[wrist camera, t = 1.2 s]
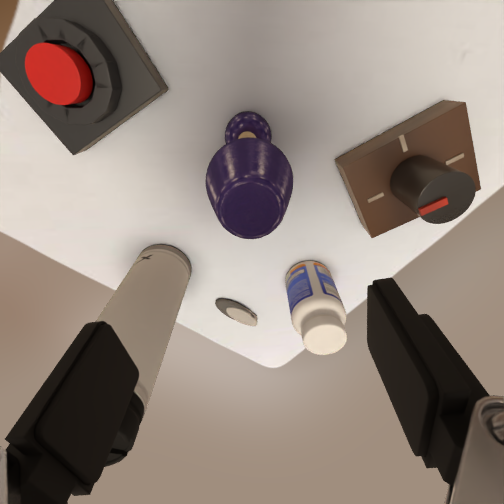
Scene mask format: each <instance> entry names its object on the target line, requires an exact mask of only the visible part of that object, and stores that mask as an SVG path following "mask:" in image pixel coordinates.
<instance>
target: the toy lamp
mask: <svg viewBox="0 0 504 504" xmlns="http://www.w3.org/2000/svg"><path fill="white" fill-rule="evenodd" d="M225 142H226V145H224V146H223V147H221V148H220V149H219V150H218V151H217V152H216V154H215V155H214V156H213V158H212V160H211V162H210V163H209V166H208V169H207V173H206V189H207V194H208V197H209V200H210V202H211V205H212V207H213V209H214V212H215V214H216V216H217V218H218V220H219V221H220V223H221V224H222V226H223V227H224V228H225V229H226V230H227V231H229V232H230V233H231V234H233V235H235V236H237V237H240V238H244V239H257V238H261V237H263V236H266V235H268V234H270V233H271V232H272V231H273V230H275V229H276V228H277V226H278V225H279V224H280V223H281V221H282V219H283V217H284V215H285V212H286V209H287V207H288V204H289V200H290V198H291V194H292V189H293V173H292V169H291V166H290V164H289V162H288V160H287V158H286V156H285V155H284V154H283V152H282V151H281V150H280V149H278V148H277V147H276V146H275V145H273V144H272V143H271V130H270V127H269V125H268V123H267V122H266V120H265V119H264V118H263V117H262V116H260V115H259V114H257V113H254V112H241V113H239V114H237V115H235V116H234V117H233V118H232V119H231V120H230V122H229V123H228V125H227V127H226V131H225Z"/></svg>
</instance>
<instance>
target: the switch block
mask: <svg viewBox="0 0 504 504" xmlns="http://www.w3.org/2000/svg"><path fill="white" fill-rule="evenodd" d="M38 43H51V44H56V45H62V46H66V47H69V48H71V49H73V50H74V51H76V52H77V53H78V54H79V55H80V56H81V57H82V58H83V59H84V60H85V62H86V63H87V65H88V67H89V69H90V71H91V74H92V79H93V88H92V92H91V94H90V96H89V97H88V99H86V100H85V101H84V102H81V103H77V104H69V105H57V104H54V103H51V102H49V101H47V100H46V99H44V98H43V97H42V96H41V95H40V94H38V92H37V91H36V90H35V89H34V88H33V86H32V85H31V83H30V81H29V79H28V76H27V73H26V69H25V58H26V54H27V52H28V50H29V49H30V48H31V47H32V46H33V45H35V44H38ZM0 72H1V73H2V74H3V75H4V76H5V78H6V79H7V80H8V81H9V82H10V83H11V84H12V86H13V87H14V88H15V89H16V90H17V91H18V92H19V94H20V95H21V96H22V97H23V98H24V99H25V101H26V102H27V103H28V104H29V105H30V106H31V107H32V109H33V110H34V111H35V112H36V113H37V114H38V115H39V117H40V118H41V119H42V120H43V121H44V122H45V123H46V125H47V126H48V127H49V128H50V129H51V130H52V132H53V133H54V134H55V135H56V136H57V137H58V138H59V140H60V141H61V142H62V143H63V144H64V145H65V146H66V148H67V149H68V150H69V151H70V152H71V153H72V154H73V155H76V154H78V153H80V152H83V151H85V150H87V149H88V148H90V147H91V146H92V145H94V144H95V143H97V142H98V141H99V140H101V139H102V138H103V137H105V136H106V135H107V134H109V133H110V132H112V131H113V130H114V129H116V128H117V127H118V126H120V125H121V124H122V123H124V122H125V121H127V120H128V119H129V118H131V117H132V116H133V115H135V114H136V113H137V112H139V111H140V110H142V109H143V108H144V107H146V106H147V105H148V104H150V103H151V102H152V101H154V100H155V99H157V98H158V97H159V96H161V95H162V94H163V93H165V92H166V91H167V90H168V87H167V86H166V84H165V83H164V81H163V80H162V78H161V76H160V75H159V73H158V72H157V70H156V69H155V67H154V65H153V64H152V62H151V61H150V59H149V57H148V56H147V54H146V53H145V51H144V50H143V48H142V46H141V45H140V43H139V42H138V40H137V39H136V37H135V35H134V34H133V32H132V31H131V29H130V28H129V26H128V24H127V23H126V21H125V20H124V18H123V16H122V15H121V13H120V12H119V10H118V9H117V7H116V5H115V4H114V2H113V1H112V0H54V1H53V2H52V3H51V4H50V5H49V6H48V7H47V8H46V9H45V10H44V11H43V12H42V13H41V14H40V15H39V16H38V17H37V18H35V19H34V20H33V21H32V22H31V23H30V24H29V25H28V26H27V27H26V28H25V29H24V30H23V31H21V32H20V33H19V35H18V36H17V37H16V38H15V39H14V40H13V41H12V42H11V43H10V44H9V45H8V46H7V47H6V48H5V49H4V50H3V51H2V52H1V53H0Z"/></svg>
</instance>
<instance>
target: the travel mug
mask: <svg viewBox="0 0 504 504" xmlns="http://www.w3.org/2000/svg"><path fill="white" fill-rule="evenodd" d="M190 276H191V265H190V262H189V260H188V259H187V257H186V256H185V255H184V254H183V253H182V252H181V251H179V250H178V249H176V248H174V247H171V246H167V245H153V246H150V247H148V248H146V249H144V250H143V251H142V252H141V254H140V255H139V257H138V258H137V260H136V261H135V263H134V264H133V266H132V267H131V269H130V270H129V272H128V273H127V275H126V276H125V278H124V279H123V281H122V282H121V284H120V285H119V287H118V288H117V290H116V291H115V293H114V294H113V296H112V298H111V299H110V301H109V302H108V304H107V305H106V307H105V308H104V310H103V311H102V313H101V314H100V316H99V317H98V319H97V320H96V322H98V321H105V322H106V323H107V324H110V325H111V326H112V328H113V329H114V331H115V333H116V334H117V336H118V337H119V339H120V341H121V342H122V344H123V345H124V347H125V349H126V350H127V352H128V353H129V355H130V357H131V358H132V360H133V361H134V363H135V365H136V366H137V368H138V370H139V379H138V382H137V384H136V387H135V390H134V392H133V395H132V397H131V400H130V402H129V405H128V407H127V410H126V413H125V415H124V418H123V420H122V423H121V425H120V428H119V430H118V433H117V435H116V438H115V441H114V443H113V446H112V448H111V451H110V453H109V456H108V458H107V461H106V464H105V466H104V467H106V466H109V465H112V464H115V463H117V462H120V461H121V460H122V459H123V458H124V457H126V456H127V453H128V451H130V450H131V449H132V447H133V445H134V442H135V439H136V436H137V433H138V430H139V425H140V423H141V421H142V418H143V416H144V414H145V411H146V409H147V404H148V402H149V399H150V397H151V394H152V391H153V387H154V385H155V381H156V378H157V375H158V372H159V369H160V366H161V363H162V360H163V357H164V354H165V351H166V348H167V345H168V342H169V339H170V336H171V333H172V330H173V327H174V324H175V321H176V318H177V315H178V312H179V309H180V306H181V303H182V300H183V297H184V294H185V291H186V288H187V285H188V282H189V279H190Z"/></svg>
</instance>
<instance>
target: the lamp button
mask: <svg viewBox="0 0 504 504" xmlns="http://www.w3.org/2000/svg"><path fill="white" fill-rule="evenodd" d="M25 69H26V73H27V76H28V79H29V81H30V83H31V85H32V86H33V88H34V89H35V90H36V91H37V92H38V94H40V95H41V96H42V97H43V98H44V99H46V100H47V101H49V102H51V103H54V104H57V105H69V104H77V103H81V102H84V101H85V100H86V99H88V97H89V96H90V94H91V92H92V88H93V79H92V74H91V71H90V69H89V67H88V65H87V63H86V62H85V60H84V59H83V58H82V57H81V56H80V55H79V54H78V53H77V52H76V51H74V50H73V49H71V48H69V47H66V46H62V45H56V44H51V43H38V44H35V45H33V46H32V47H31V48H30V49H29V50H28V52H27V54H26V58H25Z"/></svg>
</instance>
